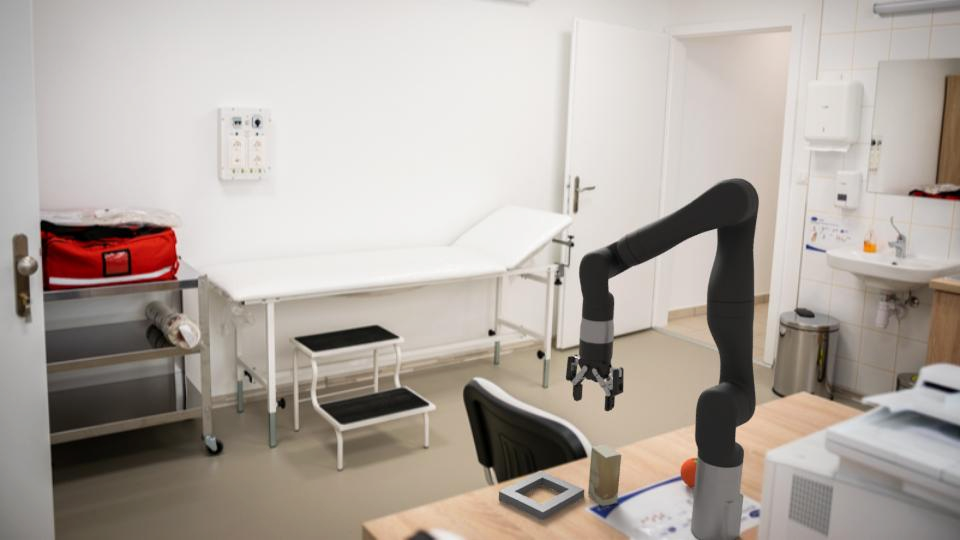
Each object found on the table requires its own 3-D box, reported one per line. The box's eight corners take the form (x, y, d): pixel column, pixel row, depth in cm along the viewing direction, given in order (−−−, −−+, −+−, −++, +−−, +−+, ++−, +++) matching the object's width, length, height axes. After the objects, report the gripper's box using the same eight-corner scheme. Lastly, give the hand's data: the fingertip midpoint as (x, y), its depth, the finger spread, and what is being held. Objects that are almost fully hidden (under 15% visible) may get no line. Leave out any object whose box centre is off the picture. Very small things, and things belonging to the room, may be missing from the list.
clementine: (717, 493, 187) (720, 465, 185) (691, 497, 185) (694, 468, 183) (698, 478, 194) (701, 451, 193) (673, 481, 192) (676, 454, 191)
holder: (584, 497, 183) (584, 489, 183) (542, 520, 173) (543, 512, 172) (540, 478, 192) (540, 470, 192) (498, 499, 181) (499, 491, 181)
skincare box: (587, 494, 185) (590, 445, 182) (603, 491, 187) (606, 442, 184) (602, 507, 179) (605, 457, 176) (618, 503, 181) (622, 454, 178)
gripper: (632, 340, 176) (628, 409, 179) (580, 327, 185) (577, 393, 189) (613, 347, 170) (609, 418, 174) (561, 333, 180) (558, 400, 183)
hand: (592, 405), depth 181 cm, fingers open, 8 cm apart
